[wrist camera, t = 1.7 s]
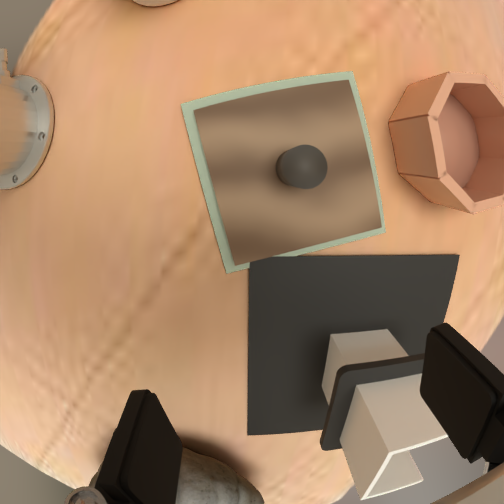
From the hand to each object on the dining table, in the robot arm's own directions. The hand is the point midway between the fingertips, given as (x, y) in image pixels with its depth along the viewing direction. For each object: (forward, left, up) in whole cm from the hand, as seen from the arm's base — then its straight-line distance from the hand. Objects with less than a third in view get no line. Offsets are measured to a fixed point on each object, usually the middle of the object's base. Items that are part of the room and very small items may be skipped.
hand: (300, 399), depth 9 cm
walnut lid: (-6, +5, -20) cm, 21 cm away
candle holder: (+16, +8, -20) cm, 27 cm away
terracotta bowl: (-6, +22, -21) cm, 30 cm away
